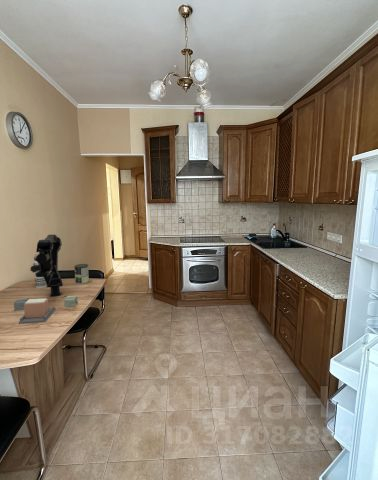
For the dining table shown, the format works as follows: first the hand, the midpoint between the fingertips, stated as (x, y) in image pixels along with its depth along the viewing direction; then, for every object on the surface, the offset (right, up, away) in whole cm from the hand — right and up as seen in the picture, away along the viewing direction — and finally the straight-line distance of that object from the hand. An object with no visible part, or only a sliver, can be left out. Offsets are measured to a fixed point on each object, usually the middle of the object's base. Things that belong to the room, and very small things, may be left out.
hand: (48, 284), depth 156 cm
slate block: (-13, -14, -5) cm, 20 cm away
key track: (+3, -15, -15) cm, 22 cm away
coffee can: (+2, -7, +45) cm, 45 cm away
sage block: (+15, -13, 0) cm, 20 cm away
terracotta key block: (+3, -14, -17) cm, 22 cm away
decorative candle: (-24, -8, +35) cm, 43 cm away
